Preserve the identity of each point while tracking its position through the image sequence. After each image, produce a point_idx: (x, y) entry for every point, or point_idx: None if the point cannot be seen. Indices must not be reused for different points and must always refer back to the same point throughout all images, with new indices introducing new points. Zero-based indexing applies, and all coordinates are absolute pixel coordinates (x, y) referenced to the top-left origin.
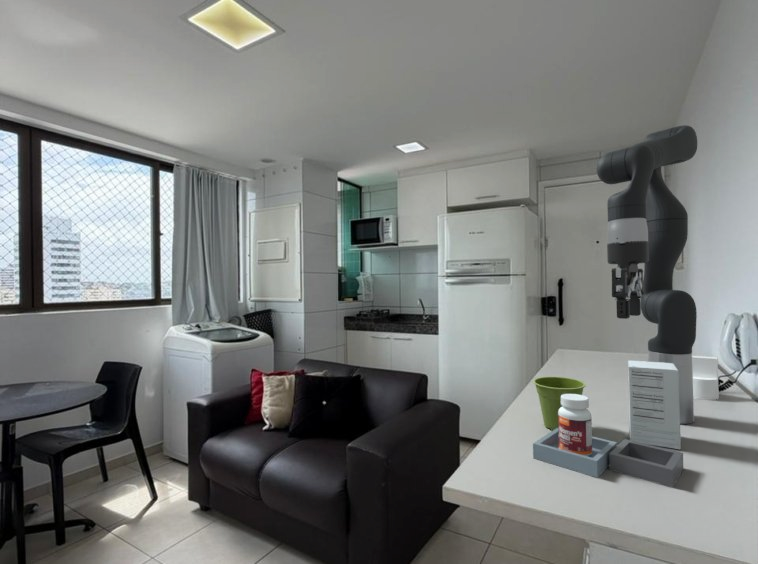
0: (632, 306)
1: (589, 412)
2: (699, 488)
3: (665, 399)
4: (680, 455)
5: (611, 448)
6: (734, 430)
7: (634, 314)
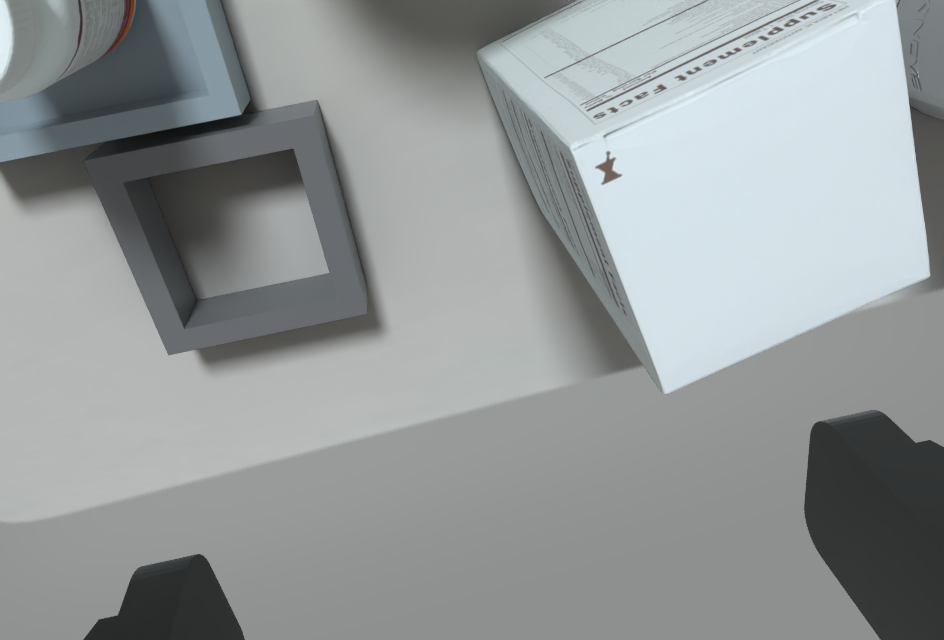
0: (907, 574)
1: (14, 91)
2: (255, 365)
3: (579, 259)
4: (331, 319)
5: (160, 129)
6: (932, 248)
7: (814, 489)
